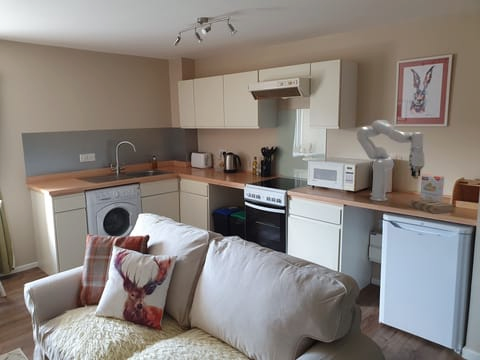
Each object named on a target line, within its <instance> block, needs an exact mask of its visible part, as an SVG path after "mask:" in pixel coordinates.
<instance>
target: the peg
mask: <svg viewBox="0 0 480 360" xmlns="http://www.w3.org/2000/svg"><path fill="white" fill-rule="evenodd" d="M418 169H419V166H418V167H415V171H416V175H415V177H413V176H412V179H413V180H417V179H419V176H418Z"/></svg>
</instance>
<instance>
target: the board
mask: <svg viewBox="0 0 480 360" xmlns="http://www.w3.org/2000/svg"><path fill="white" fill-rule="evenodd" d="M410 208H412V209H416V210H419V211H423V212H426V213H431V214H433V215H436V214H445V213H444V212H446V213H453V212H454V204H452V203H449V202H444V201H442V202H441V201H437V200H433V199H420V198H419V199H413V200H411V201H410Z"/></svg>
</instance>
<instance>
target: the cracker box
mask: <svg viewBox="0 0 480 360" xmlns="http://www.w3.org/2000/svg"><path fill="white" fill-rule="evenodd" d="M444 183H445V176H443V175H435V174H428V173H427V174H422V175H421V182H420V194H419V200H420V199H433V200H437V201H441V202H443V198H444V197H443V194H444V186H445V184H444Z"/></svg>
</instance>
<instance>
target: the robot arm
mask: <svg viewBox="0 0 480 360" xmlns="http://www.w3.org/2000/svg"><path fill="white" fill-rule="evenodd" d="M381 134H383V135H385V136H387V137H388V138H389V139H390V140H392V141H394V142H397V143H400V144H405V143H406V144H408V143H409V144H410V148H409V151H410V152H409V154H408V155H409V156H408V165H407V168H408V169H410V171H411V174H410V175H411V177H412V178H413V177H415V175H416V171H415V167H418V166H419V169H418V177H420V176H421V171H422V169H423V168H424V167H425V152H424V133H423V132H419V131H418V132H417V131H416V132H415V131H414V132H413V131H399V130H397V129H396V126H395V125H394V124H391V123H390V121H388V120H385V119H378V120H374V121H373V122H372V124H371V125H366V126H361V127H359V128H358V130H357V131H356V138H357V139H356V140H357V141H358V143H359V144H360V146H361V147H362V148H363V150H364V152H365V153H366V155H367V157H368V158H369V160H374V161H372V165H371V166H372V172H373V173H372V175H373V177H372V192H371V193H369V195H370V197H369V200H372V201H376V202H377V201H378V202H385V201H388V197H386V192H387V190H386V189H387V173H386V172H387V171H391V170H392V169H393V168H394V165H395V164H394V160H393V159H392V157H391V155H390V154H389V152H388V151H387V150H386V148H384V147H381V146H376V144H374V142H373V141H372V140H371V139H370V138H372V137H373V138H374V137H377V136H379V135H381Z"/></svg>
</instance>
